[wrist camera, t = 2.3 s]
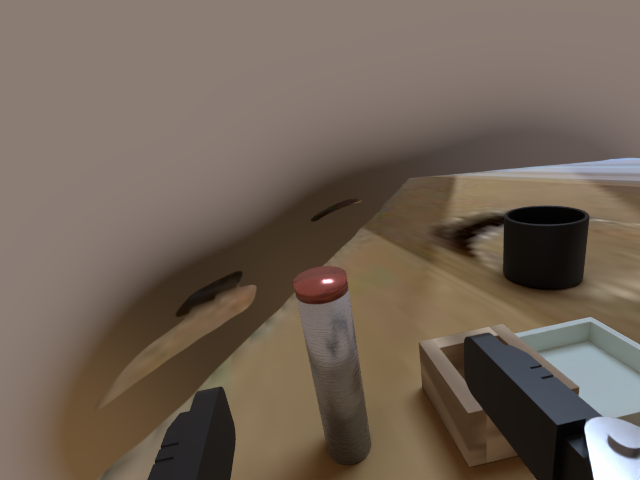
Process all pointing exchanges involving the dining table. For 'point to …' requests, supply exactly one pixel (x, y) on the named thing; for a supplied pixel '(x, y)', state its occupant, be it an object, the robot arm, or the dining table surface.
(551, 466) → the robot arm
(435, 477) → the dining table surface
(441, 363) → the block
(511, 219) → the mug
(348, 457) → the cylinder
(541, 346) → the tray
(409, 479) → the dining table surface
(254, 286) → the dining table surface
